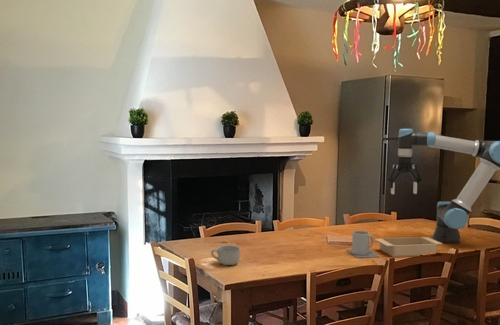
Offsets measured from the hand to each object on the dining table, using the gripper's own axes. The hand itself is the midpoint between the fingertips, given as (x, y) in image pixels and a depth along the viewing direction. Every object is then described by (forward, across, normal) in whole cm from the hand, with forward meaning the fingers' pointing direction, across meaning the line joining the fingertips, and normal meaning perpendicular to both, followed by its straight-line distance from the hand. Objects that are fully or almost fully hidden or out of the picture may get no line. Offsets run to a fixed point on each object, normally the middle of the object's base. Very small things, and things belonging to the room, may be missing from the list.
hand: (403, 193), depth 268 cm
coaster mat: (+29, +31, +17) cm, 46 cm away
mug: (+28, +31, +17) cm, 45 cm away
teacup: (+29, +104, +25) cm, 111 cm away
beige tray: (+29, +6, +17) cm, 34 cm away
